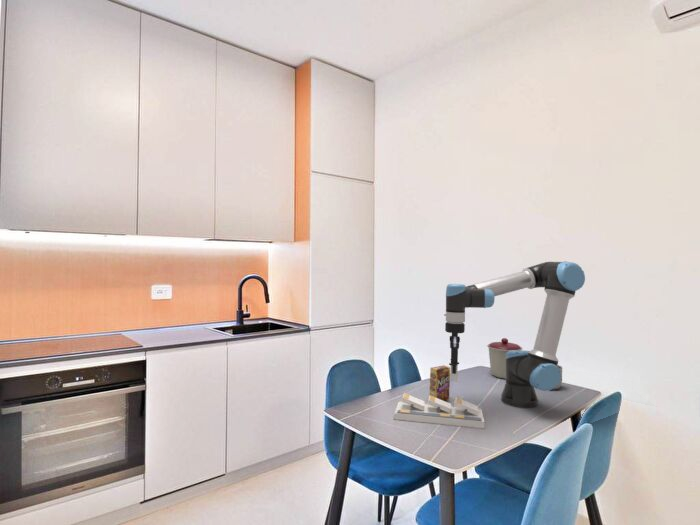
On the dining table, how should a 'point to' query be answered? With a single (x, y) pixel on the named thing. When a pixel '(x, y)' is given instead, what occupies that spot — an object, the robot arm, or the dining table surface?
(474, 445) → the dining table surface
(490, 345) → the canister
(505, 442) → the dining table surface
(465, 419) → the switch board
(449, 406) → the rocker
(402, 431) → the dining table surface
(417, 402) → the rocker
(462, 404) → the rocker
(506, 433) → the dining table surface
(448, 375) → the candy box
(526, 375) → the robot arm
